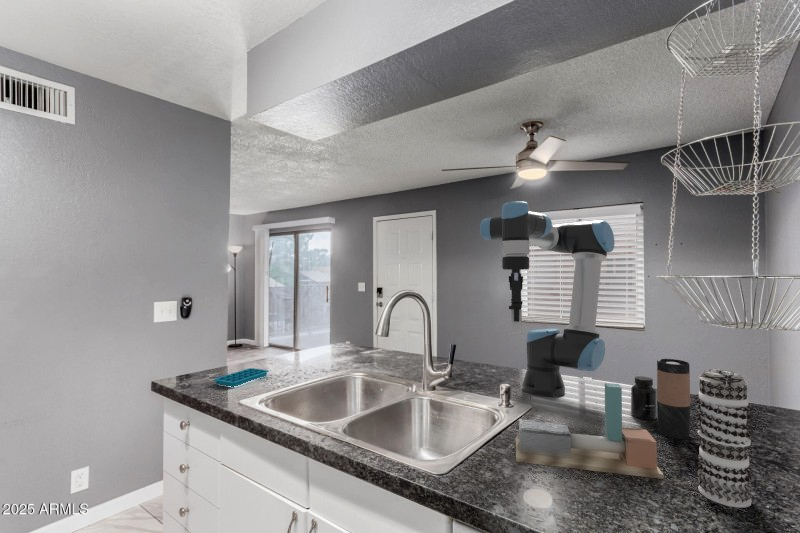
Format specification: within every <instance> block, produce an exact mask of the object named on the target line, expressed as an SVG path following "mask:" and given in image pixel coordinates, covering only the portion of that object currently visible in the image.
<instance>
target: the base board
mask: <svg viewBox="0 0 800 533" xmlns="http://www.w3.org/2000/svg"><path fill="white" fill-rule="evenodd" d="M515 461H516V463H524V464H526V463H527V464H534V465H540V466H541V465H543V466H551V467H559V468H568V469H569V468H570V469H575V470H577V469H578V470H582V471H583V470H584V471H585V470H586V471H593V472H599V473H608V474H617V475H626V476H636V477H644V478H650V479H651V478H653V479H660V480H664V473H663V472H662V471H661V469H660V467H658V465H657V469H654V468H645V467H636V466H627V464H626V463H625V461H624V459H623V457H622V456H621V454H620V453H610V452H601V451H592V450H582V449H573V448H571V459H567V458H558V457H549V456H540V455H531V454H523V453H520V446H519V436H515Z"/></svg>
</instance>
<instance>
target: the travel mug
mask: <svg viewBox="0 0 800 533" xmlns="http://www.w3.org/2000/svg"><path fill="white" fill-rule="evenodd" d="M690 376H691V375H690V363H689V362H688V361H685V360H681V359H674V358H673V359H672V358H662V359H660V360H656V391H657V422H658V423H657V426H658V427H657V428H658V429H657V430H658V432H659V433H660V434H661V435H663V436H666V437H668V438H672V439H673V438H674V439H685V440H686V439H688V438H690V434H691V432H690V431H691V430H690V429H691V380H690V379H691V378H690Z"/></svg>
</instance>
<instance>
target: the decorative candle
mask: <svg viewBox="0 0 800 533" xmlns="http://www.w3.org/2000/svg"><path fill="white" fill-rule="evenodd" d="M697 378H698V379H699V390H698V393H697V394H696V396H694V400H695V403H696V406H695V408H694V409H695V411H696V413H695V417H696V420H698V421H697V423H696V427H697V434H698V436H700V439H699V443H700V445H699V448H698V449H699V450H698V451H699V454H698V455H697V460H698V461H699V462H697V465H698V468H699V469H698V470H697V476H698V478H697V482H698V483H697V484H698V487H697V489H698V491H699V493H700V494H701V495H702V496H703V497H705V498H707V499H708V500H710V501H712V502H715V503H716V504H717V503H718V504H720V505H723V506H727V507H732V508H736V509H737V508H742V509H743V508H749V507H750V506H752V498H751V497H752V496H753V494H752V490H751V489H752V488H753V487H752V483H751V479H752V475H751V471H752V467H751V465H750V456H749V455H748V454H749V453H748V452H749V450H748V449H749V447H748V446H751V443H752V441H751V439H750V437H752V436H753V434H752V432H751V431H749V430H752V428H753V425H752V424H751V423H749V422H748V420H751V419H752V418H754V415H753V414H751V413H750V412H752V411H753V410H754V407H753V406H751V405H750V404H749V397H748V385H749V383H750V382H748V381H747V380H745V379H744V377H743V376H742V375H741V374H739V373H738V372H735V371H731V370H726V369H716V368H715V369H713V368H710V369H706V370H704V371H703V373H702V374H699V375H698V376H697Z"/></svg>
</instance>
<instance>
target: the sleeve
mask: <svg viewBox="0 0 800 533" xmlns="http://www.w3.org/2000/svg"><path fill="white" fill-rule="evenodd" d="M518 426H519V427H518V429H519V430H518V432H519V433H518V435H519V436H518V437H519V446H520V453H523V454H531V455H540V456H549V457H558V458H567V459H571V434H570V433H571V432H570V429H569V426H568V424H567V423H566V422H555V421H543V420H534V419H533V420H532V419H522V418H521V419H520V418H519V419H518Z"/></svg>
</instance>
